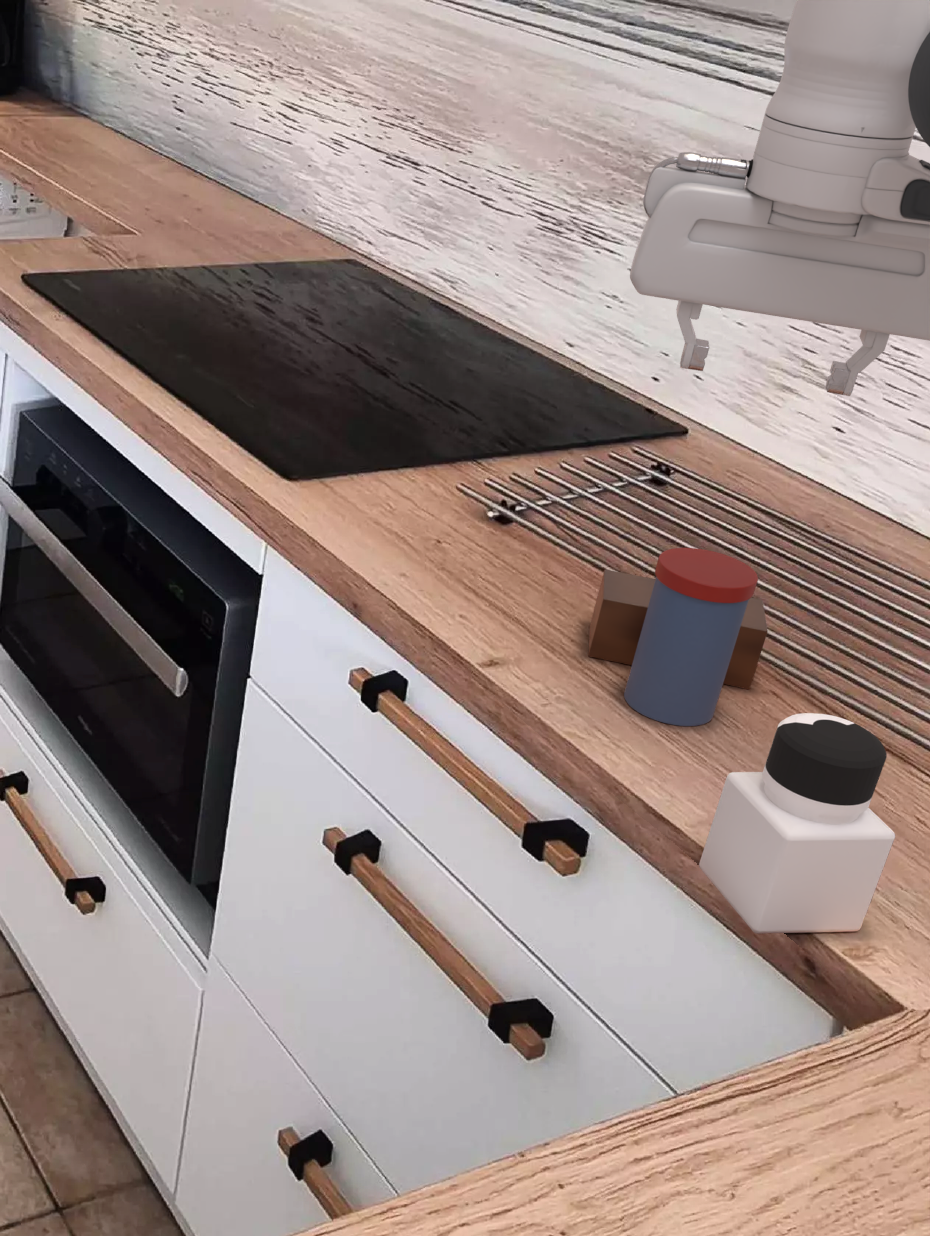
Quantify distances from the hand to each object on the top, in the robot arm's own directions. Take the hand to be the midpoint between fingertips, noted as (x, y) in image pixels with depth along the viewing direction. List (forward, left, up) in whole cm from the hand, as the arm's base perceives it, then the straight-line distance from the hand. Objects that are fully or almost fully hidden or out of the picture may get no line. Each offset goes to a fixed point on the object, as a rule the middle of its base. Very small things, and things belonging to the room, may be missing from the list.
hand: (763, 379), depth 117 cm
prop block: (0, -8, -25) cm, 27 cm away
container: (0, 0, -20) cm, 20 cm away
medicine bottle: (-6, +24, -25) cm, 35 cm away
